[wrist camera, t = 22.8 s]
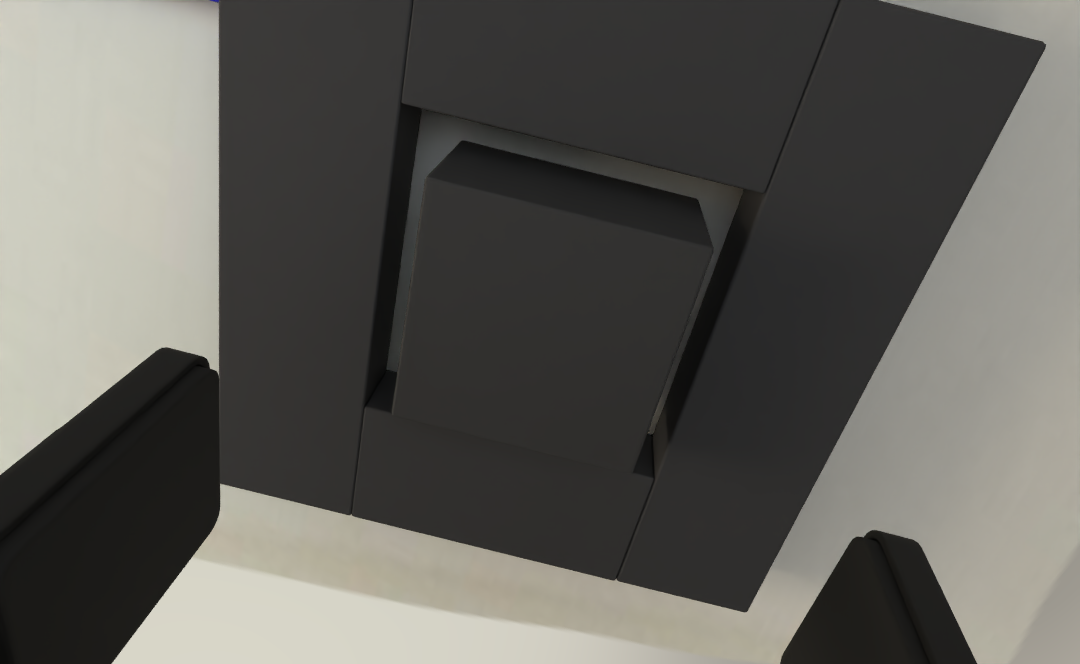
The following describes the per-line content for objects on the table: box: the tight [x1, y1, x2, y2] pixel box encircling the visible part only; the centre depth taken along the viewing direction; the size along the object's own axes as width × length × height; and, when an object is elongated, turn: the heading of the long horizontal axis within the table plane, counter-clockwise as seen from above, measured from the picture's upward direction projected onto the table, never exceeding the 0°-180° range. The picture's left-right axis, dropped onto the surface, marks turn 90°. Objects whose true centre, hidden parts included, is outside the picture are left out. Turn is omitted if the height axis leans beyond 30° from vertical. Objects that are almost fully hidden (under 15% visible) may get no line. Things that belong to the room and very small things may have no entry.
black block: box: [392, 141, 713, 474], centre depth 17 cm, size 6×6×4 cm
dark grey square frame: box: [219, 0, 1046, 612], centre depth 18 cm, size 16×16×2 cm
